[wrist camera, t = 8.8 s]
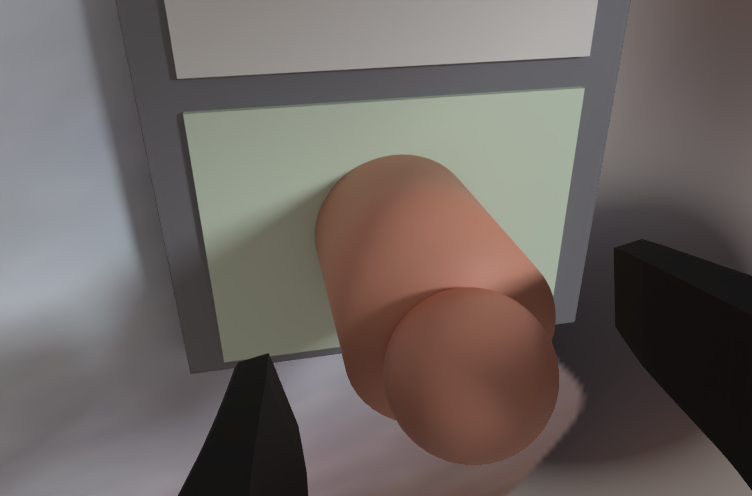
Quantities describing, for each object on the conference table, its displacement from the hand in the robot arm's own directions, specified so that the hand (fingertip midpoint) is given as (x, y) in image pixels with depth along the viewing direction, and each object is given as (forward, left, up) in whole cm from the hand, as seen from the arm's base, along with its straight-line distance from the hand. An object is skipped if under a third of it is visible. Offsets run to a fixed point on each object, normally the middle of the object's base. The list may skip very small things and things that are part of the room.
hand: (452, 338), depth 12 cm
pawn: (0, 0, -5) cm, 5 cm away
